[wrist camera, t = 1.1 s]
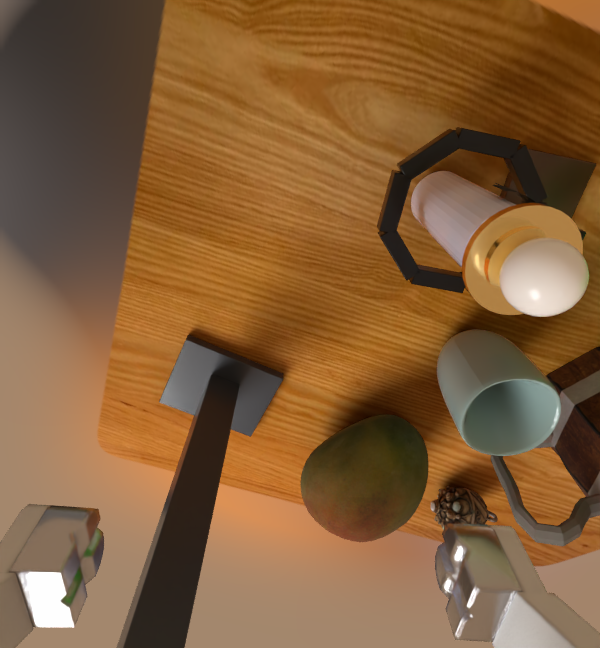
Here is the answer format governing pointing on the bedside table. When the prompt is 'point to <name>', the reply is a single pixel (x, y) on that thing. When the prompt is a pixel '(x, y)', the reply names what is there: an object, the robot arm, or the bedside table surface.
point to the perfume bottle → (504, 245)
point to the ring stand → (524, 177)
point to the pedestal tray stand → (194, 485)
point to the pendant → (460, 507)
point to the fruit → (366, 478)
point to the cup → (496, 393)
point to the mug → (568, 450)
